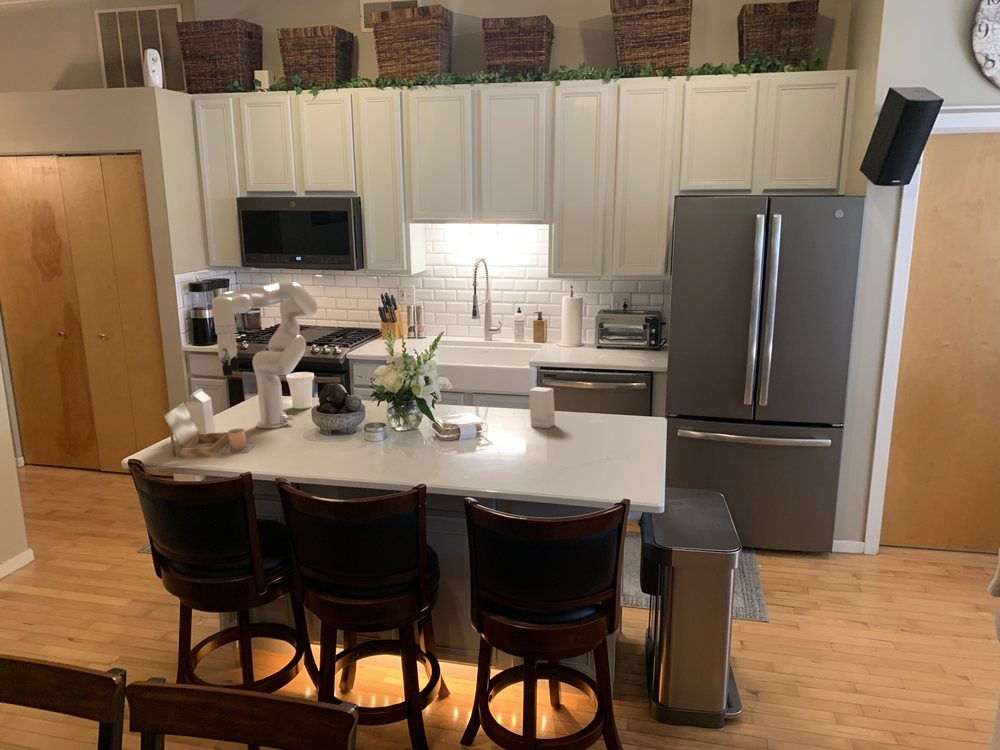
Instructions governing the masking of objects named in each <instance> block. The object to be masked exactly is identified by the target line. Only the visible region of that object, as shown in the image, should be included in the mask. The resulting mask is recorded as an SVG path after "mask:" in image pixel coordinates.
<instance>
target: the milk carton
mask: <svg viewBox="0 0 1000 750" xmlns="http://www.w3.org/2000/svg"><path fill="white" fill-rule="evenodd" d="M212 401H213V400H212V397H210V396H209V395H208V394H207V393H206V392H204V391H203V388H200V389H198V390H196V391H194V392H193V393H191V394H190V395H189V399H188V400H187V401H186V402H185V406H186V408H187V410H188V412H189V414H190V416H191V418H192V420H193V422H194V424H195V426H196V428H197V430H199V433H216V432H215V431H216V430H215V422H214V421H215V420H214V412H213V411H214V410H213V402H212Z"/></svg>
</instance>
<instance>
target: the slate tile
mask: <svg viewBox="0 0 1000 750" xmlns="http://www.w3.org/2000/svg"><path fill="white" fill-rule="evenodd" d="M246 446H247V448H246V449H244V450H241V451H231V450H230V445H229V444H228V445H227V446H226V447H225V449H223V451H222V452H220V454H221V455H229V454H232V455H233V454H249V453H250V452H251V450H252V449H253V448H254V447H255V446H256V444H255V443H253V444H249V443H248V444H247V443H246Z"/></svg>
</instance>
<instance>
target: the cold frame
mask: <svg viewBox="0 0 1000 750" xmlns="http://www.w3.org/2000/svg"><path fill="white" fill-rule="evenodd" d="M163 417H164V419H165V421H166V423H167V425H168V427H169V435H170V442H171V443H170V445H171V452H172V457H176V456H177V454H176V447H175V440H176V442H177V444H178V446H180V448H179V455H180V458H194V457H195V458H197V457H214V456H215V455H216V454H217V453H219V451H221V449H222V448H223V447H224V446H225V445H226V444H227V443H229V437H228V431H227V432H225V431H223V432H215V433H199V430H197V428H196V426H195V424H194V422H193V420H192V418H191V416H190V414H189V412H188V410H187V407H186V403H185V402H182V403H180V404H178V405H177V406H175V407H174V408H173V409H171V410H170V411H168V413H166V414H164V415H163ZM174 438H175V439H174Z"/></svg>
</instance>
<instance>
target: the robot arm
mask: <svg viewBox="0 0 1000 750" xmlns="http://www.w3.org/2000/svg"><path fill="white" fill-rule="evenodd" d="M276 304H279V312H280V320H281V321H280V324H279V325H278V328H277V329H276V331H275V332H274V333H273V335H272V336H271V338H270V339H269V342H268V344H267V348H268V350H261V351H258V352H257V353H255V355H254V356H253V358H252V367H253V371H254V374H255V378H256V379H255V380H256V384H257V385H256V386H257V387H256V388H257V396H258V397H257V398H258V406H259V407H258V408H259V415H260V421H258V422H257V423H256V426H257V427H258V428H260V429H278V428H281V427H285V426H286V425H289V421H295V416H294V415H292V414H289V415H288V414H287V413H286V411H284V402H283V391H282V383H281V379H280V377H279V376H286V375H288V374H291V373H292V372H293V371H294V369H295V368H296V366H297V365H298V364H299V362H300V361H301V359H302V357H303V356H304V354H305V351H306V349H307V342H306V339H305V337H304V336H303V335H301V334H300V330H301V329H300V324H299V322H298V319H297V318H298V317H299V318H303V317H304V318H309V317H311V318H312V317H313V316H315V315H316V313H317V311H318V305H317V302H316V299H315V298H314V297H313V296H312V295H311V294H310V293H309V292H308V291H307V289H305V288H304V287H303V286H301V284H299V283H297V282H295V281H294V282H293V281H277V282H272V283H268V284H264V285H259V286H254V287H248V288H242V289H235V290H230V291H226V292H222V293H220V294H219V295H217V297H213V298H212V299H211V307H212V313H213V314H212V315H213V322H214V331H215V335H217V342H216V343H217V352H218V359H219V360H220V361H221V366H222V367H221V368H222V373H223V376H224V377H225V376H232V375H233V370H239V360H238V355H237V354H238V347H237V340H236V335H235V333H237V327H236V319H235V317H236V316H235V314H244V313H247V312H249V311H250V310H251V309H254V308H255V309H258V308H265V307H268V306H272V305H276Z"/></svg>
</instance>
